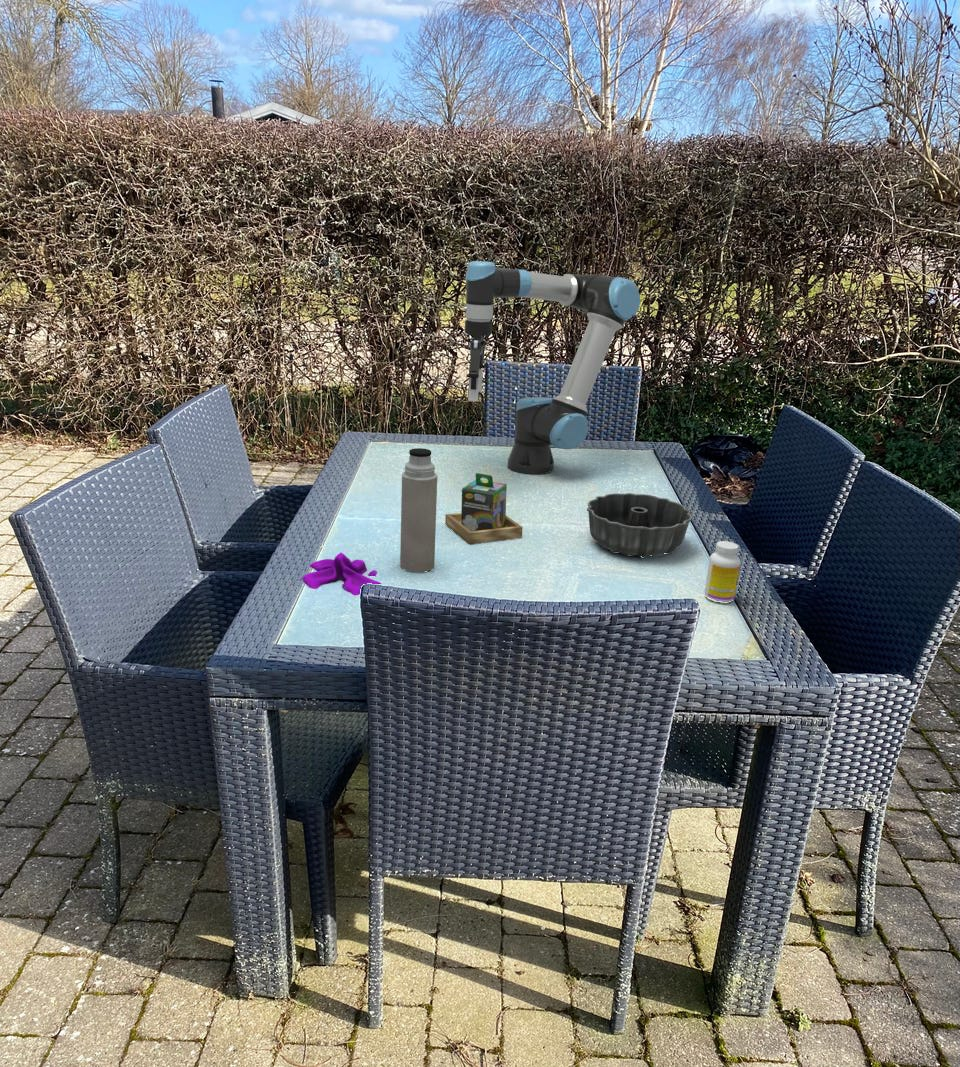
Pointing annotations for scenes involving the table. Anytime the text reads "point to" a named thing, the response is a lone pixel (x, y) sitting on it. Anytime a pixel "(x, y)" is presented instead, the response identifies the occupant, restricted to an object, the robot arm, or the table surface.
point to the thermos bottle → (418, 512)
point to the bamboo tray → (472, 537)
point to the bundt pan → (638, 523)
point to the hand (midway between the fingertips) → (475, 396)
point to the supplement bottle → (723, 572)
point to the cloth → (339, 573)
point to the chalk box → (483, 504)
